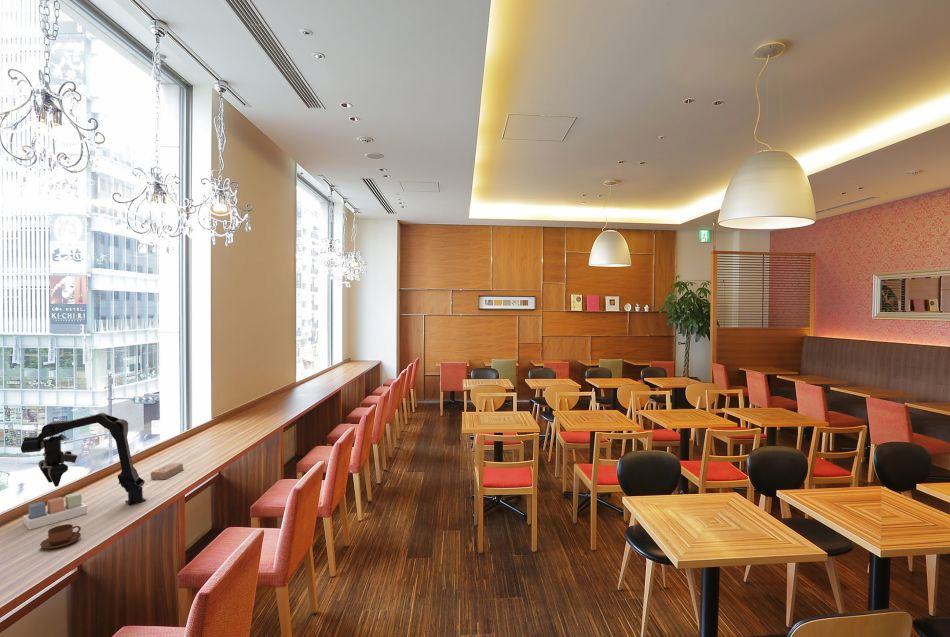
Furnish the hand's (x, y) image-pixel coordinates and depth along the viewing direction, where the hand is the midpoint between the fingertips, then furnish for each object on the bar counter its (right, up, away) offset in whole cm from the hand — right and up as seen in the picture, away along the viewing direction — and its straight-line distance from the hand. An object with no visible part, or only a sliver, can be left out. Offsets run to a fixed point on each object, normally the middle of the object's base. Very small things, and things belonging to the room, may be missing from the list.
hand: (53, 484), depth 217 cm
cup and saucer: (+29, -13, -30) cm, 44 cm away
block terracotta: (+7, -10, -6) cm, 14 cm away
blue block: (+3, -11, -11) cm, 16 cm away
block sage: (+10, -10, -1) cm, 15 cm away
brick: (+20, -12, +49) cm, 55 cm away
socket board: (+7, -13, -6) cm, 16 cm away
